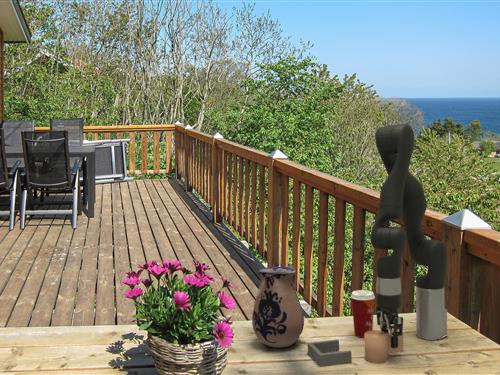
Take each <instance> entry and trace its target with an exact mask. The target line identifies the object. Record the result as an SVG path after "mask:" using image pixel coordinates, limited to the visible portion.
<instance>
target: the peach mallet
mask: <svg viewBox="0 0 500 375" xmlns="http://www.w3.org/2000/svg"><path fill="white" fill-rule="evenodd" d="M390 336H391V335H390V332H389V333H386V332H383V331H381V330H377V329H375V330H374V329H373V331H367V332H365V338H364V360H365V362H367V363H370V364H375V365H379V364H386V363H387V362H388V361H389V355H390V354H396V353H403V352H404V332H402V336H398V348H391V339H390Z"/></svg>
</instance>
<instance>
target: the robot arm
mask: <svg viewBox="0 0 500 375" xmlns="http://www.w3.org/2000/svg"><path fill="white" fill-rule="evenodd" d="M374 137H375V139H374V141H375V145H376V148H377V151H378V154H379V157H380V159H381V161H382V164H383V166H384V168H385V170H386V172H387V178H386V180H384V182H383V184H382V186H381V190H380V192H379V202H378V211H377V216H376V218H375V222H374V225H373V227H372V229H371V233H370V235H369V240H370V244H371V246H372V247H373V248H375V249H377V250H388V251H389V250H392V253H391V254H390V255H385V256H380V257H378V258H377V260H376V283H375V284H376V286H375V288H376V290H375V291H376V298H375V299H376V307H375V312H376V324H377V326H379V329H380V331H383V332H386V333H390V335H391V336H390V339H391V348H398V336H402V332H403V329H404V317H403V316H399V313H398V312H399V311H398V309H399V308H401V307H402V296H403V295H402V279H401V278H402V277H401V261H402V256H403V252H404V250H405V245H406V243H407V246H408V251H409V255H410V258H411V260H412V262H413V263H414V264H416V265H419V266H422V267H423V266H424V267H426V268H427V273H426V274H422V275H418V276H417V277H416V278H415V311H416V312H415V314H416V315H415V317H416V318H415V319H416V322H415V324H416V326H415V328H416V334H415V336H416V337H418V338H420V339H422V340H428V341H438V340H437V339H439V340H441V339H440V338H442V337H443V336H445V335H447V336H448V309H447V308H446V307H445V282H446V279H447V270H448V269H447V266H448V249H447V246H446V244H445V243H444V242H443V241H442V240H438V239H431V238H426V236H425V234H424V230H423V226H422V225H423V220H424V217H425V213H426V211H427V198H426V195H425V192H424V188H423V185H422V184H421V182H420V181H419V179H417V178H416V177H415V176H414V174H413V173H411V172H410V171H409V168H410V166H411V165H410V164H411V159H412V156H413V151H414V147H415V146H414V145H415V132H414V130H413V128H412V126H411V125H410V124H408V123H399V124H398V123H397V124H392V125H391V124H390V125H384V126H379V127H378V128H377V129H376V130H375V135H374ZM399 219H401V220H402V224H403V227H404V229H403V227H399V226H386V225H387V223H388V222H390V221H394V220H399ZM406 241H407V242H406ZM403 333H404V332H403Z"/></svg>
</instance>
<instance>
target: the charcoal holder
mask: <svg viewBox="0 0 500 375" xmlns="http://www.w3.org/2000/svg"><path fill="white" fill-rule="evenodd" d="M307 354H308V355H309V357H311V359H312V360H313V361H314V362H315V363H316V364H317V365H318V366H319V367H320V368H322V367H329V366H337V365H344V364H352V362H353V361H352V360H353V359H352V356H353V355H352V351H351V349H350V350H343V351H342V350H341V351H340V340H339V339H330V340H321V341H314V342H307Z"/></svg>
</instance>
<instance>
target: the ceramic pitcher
mask: <svg viewBox="0 0 500 375" xmlns="http://www.w3.org/2000/svg"><path fill="white" fill-rule="evenodd" d="M257 272H258V274H259V277H260V282H259V286H258V290H257V293H256V296H255V297H256V298H255V300H254V304H253V310H252V316H251V323H252V324H251V325H252V329H253V332H254V335H255V336H256V337H257V339H258V340H259V341H260V342H261V343H262V344H264V345H266V346H267V347H270V348H277V349H278V348H281V349H282V348H288V347H291V346H292V345H293V344H294V343H296V342H297V341H298V340H299V338H300V336H301V335H302V333H303V330H304V327H305V317H304V312H303V308H302V304H301V302H300V299H299V297H298V293H297V291H296V290H297V274H296V273H297V271H296V269H295V268H294V266H292V265H285V266H270V267H265V268H261V269H259V270H258V271H257Z"/></svg>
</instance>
